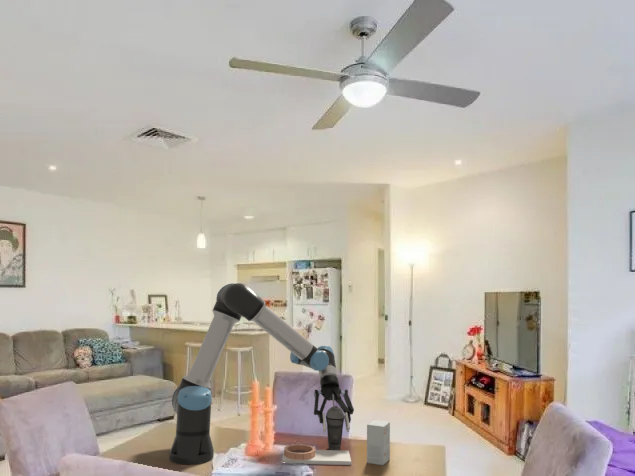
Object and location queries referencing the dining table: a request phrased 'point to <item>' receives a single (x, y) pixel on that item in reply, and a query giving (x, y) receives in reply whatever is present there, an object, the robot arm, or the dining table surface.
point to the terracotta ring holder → (299, 452)
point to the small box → (378, 442)
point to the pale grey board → (324, 458)
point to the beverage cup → (334, 426)
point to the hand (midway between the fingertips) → (336, 430)
